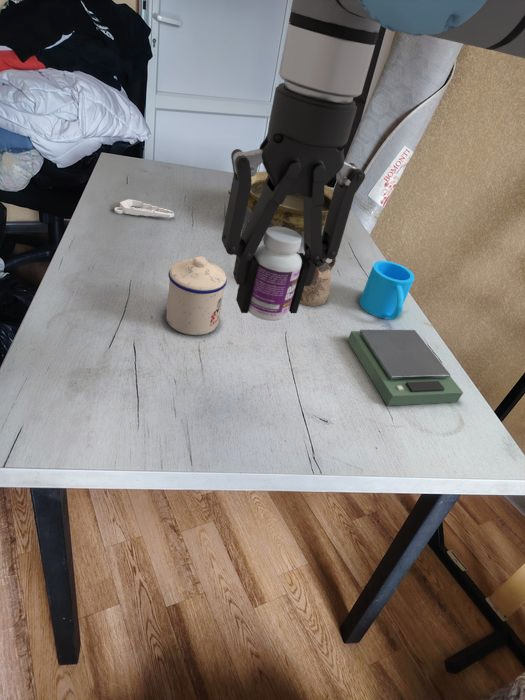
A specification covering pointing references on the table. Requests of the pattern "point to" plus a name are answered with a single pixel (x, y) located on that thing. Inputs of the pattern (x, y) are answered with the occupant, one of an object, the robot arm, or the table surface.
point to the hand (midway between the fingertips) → (266, 306)
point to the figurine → (318, 285)
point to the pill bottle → (276, 273)
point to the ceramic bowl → (286, 205)
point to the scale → (403, 381)
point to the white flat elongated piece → (154, 211)
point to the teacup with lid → (195, 296)
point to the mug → (386, 289)
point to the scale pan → (404, 354)
